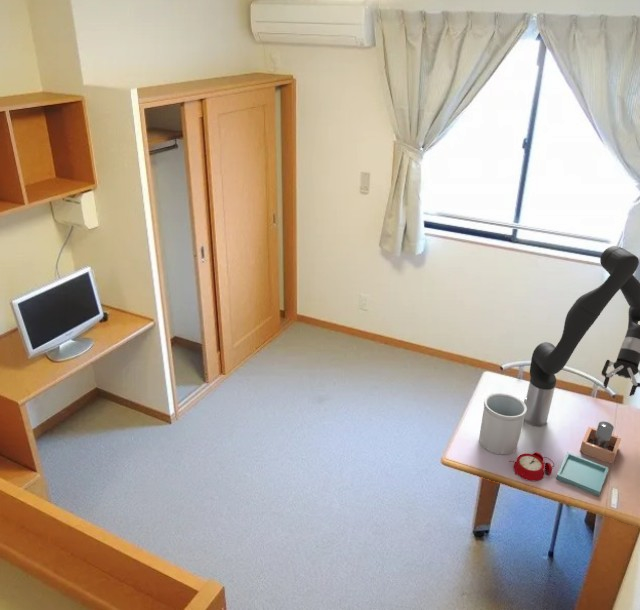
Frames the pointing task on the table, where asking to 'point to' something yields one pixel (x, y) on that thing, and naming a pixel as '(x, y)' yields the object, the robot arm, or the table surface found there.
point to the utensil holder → (502, 423)
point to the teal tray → (582, 473)
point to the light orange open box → (599, 451)
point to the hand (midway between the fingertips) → (617, 391)
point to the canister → (603, 434)
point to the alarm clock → (531, 466)
